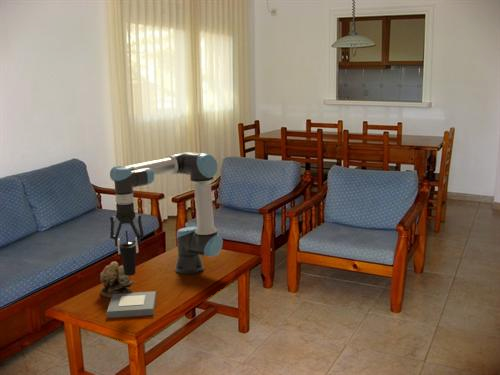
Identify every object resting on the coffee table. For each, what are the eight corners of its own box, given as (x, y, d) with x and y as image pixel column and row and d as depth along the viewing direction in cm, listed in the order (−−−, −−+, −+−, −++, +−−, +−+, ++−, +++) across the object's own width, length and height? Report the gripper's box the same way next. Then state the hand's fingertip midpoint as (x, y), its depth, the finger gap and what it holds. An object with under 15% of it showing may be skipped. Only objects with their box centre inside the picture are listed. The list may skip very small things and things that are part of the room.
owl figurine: (139, 291, 270) (137, 258, 266) (127, 301, 259) (124, 267, 256) (107, 287, 276) (105, 255, 272) (94, 297, 265) (91, 263, 261)
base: (156, 297, 263) (155, 290, 262) (153, 314, 243) (152, 307, 242) (113, 299, 261) (112, 293, 260) (107, 318, 241) (106, 311, 240)
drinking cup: (118, 273, 249) (114, 231, 245) (133, 269, 254) (130, 227, 250) (126, 278, 243) (122, 234, 239) (141, 273, 248) (138, 230, 244)
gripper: (100, 205, 237) (104, 256, 242) (147, 203, 239) (150, 253, 244) (102, 201, 245) (106, 251, 249) (148, 199, 247) (151, 248, 251)
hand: (128, 252), depth 246 cm, fingers closed on drinking cup, 7 cm apart
